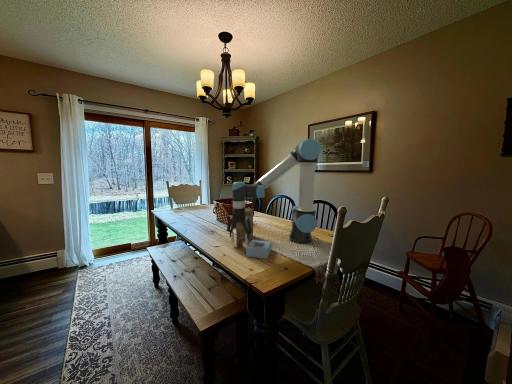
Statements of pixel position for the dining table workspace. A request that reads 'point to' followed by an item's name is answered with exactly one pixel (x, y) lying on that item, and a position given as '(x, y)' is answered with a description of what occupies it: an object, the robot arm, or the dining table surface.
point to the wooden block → (249, 214)
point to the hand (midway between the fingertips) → (239, 243)
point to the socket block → (258, 249)
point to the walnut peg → (239, 237)
